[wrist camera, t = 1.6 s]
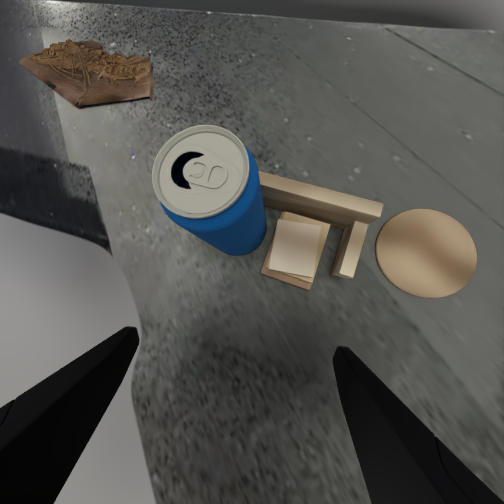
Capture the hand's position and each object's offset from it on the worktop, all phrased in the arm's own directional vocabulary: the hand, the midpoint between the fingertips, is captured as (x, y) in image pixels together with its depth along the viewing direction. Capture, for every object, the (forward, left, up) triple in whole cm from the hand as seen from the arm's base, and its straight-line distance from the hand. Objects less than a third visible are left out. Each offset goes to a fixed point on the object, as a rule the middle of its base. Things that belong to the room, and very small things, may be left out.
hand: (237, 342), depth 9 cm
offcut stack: (+7, -2, -12) cm, 14 cm away
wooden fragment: (+23, +36, -13) cm, 45 cm away
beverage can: (+8, +5, -13) cm, 16 cm away
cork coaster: (+11, -14, -12) cm, 22 cm away
